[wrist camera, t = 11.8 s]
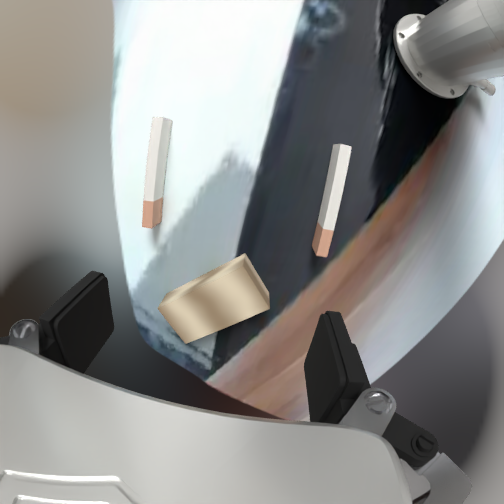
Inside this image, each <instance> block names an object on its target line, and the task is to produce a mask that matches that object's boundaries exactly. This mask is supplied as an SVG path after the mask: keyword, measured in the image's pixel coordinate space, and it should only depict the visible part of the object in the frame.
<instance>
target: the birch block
mask: <svg viewBox="0 0 504 504" xmlns="http://www.w3.org/2000/svg"><path fill="white" fill-rule="evenodd" d="M268 309H270V304H269V292H268V290H267V289H266V287H265V285H264V284H263V282H262V280H261V279H260V277H259V276H258V274H257V272H256V271H255V269H254V267H253V266H252V264H251V262H250V261H249V259H248V257H247V256H246V254H243V255H241V256H239V257H237V258H235V259H233V260H231V261H229V262H227V263H225V264H223V265H221V266H219V267H217V268H216V269H214V270H212V271H210V272H208V273H206V274H204V275H202V276H200V277H198V278H196V279H194V280H192V281H190V282H188V283H186V284H184V285H182V286H181V287H179V288H177V289H175V290H173V291H171V292H169V293H167V294H166V295H165V297H164V299H163V300H162V302H161V304H160V305H159V307H158V310H159V311H160V312H161V314H162V315H163V316H164V318H165V319H166V320H167V321H168V323H169V324H170V325H171V326H172V328H173V329H174V330H175V331H176V333H177V334H178V335H179V336H180V337H181V339H182V340H183V341H184V342H185V343H186V344H187V343H189V342H192V341H194V340H197V339H199V338H202V337H204V336H207V335H209V334H212V333H214V332H217V331H219V330H221V329H224V328H226V327H229V326H231V325H233V324H236V323H238V322H240V321H243V320H245V319H247V318H250V317H252V316H254V315H256V314H259V313H261V312H263V311H265V310H268Z"/></svg>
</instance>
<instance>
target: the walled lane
mask: <svg viewBox="0 0 504 504" xmlns="http://www.w3.org/2000/svg"><path fill="white" fill-rule="evenodd" d="M171 126H172V120H170V119H167V118H164V117H153V119H152V126H151V132H150V140H149V147H148V156H147V165H146V175H145V187H144V201H143V220H142V227H146V228H153V227H155V226H156V225H157V224H159V223H160V222H161V217H162V204H163V192H164V182H165V172H166V163H167V155H168V147H169V140H170V133H171ZM351 148H352V147H351V146H347V145H343V144H334V145H333V149H332V154H331V159H330V165H329V170H328V175H327V180H326V185H325V190H324V194H323V199H322V204H321V208H320V213H319V217H318V222H317V226H316V230H315V235H314V239H313V243H312V248H313V250H314V252H315V254H316V255H317V256H323V257H327V255H328V251H329V247H330V243H331V239H332V235H333V231H334V227H335V223H336V219H337V215H338V211H339V206H340V202H341V197H342V193H343V188H344V183H345V179H346V174H347V169H348V164H349V158H350V153H351Z"/></svg>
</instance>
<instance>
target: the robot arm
mask: <svg viewBox="0 0 504 504" xmlns="http://www.w3.org/2000/svg"><path fill="white" fill-rule="evenodd" d="M393 40H394V46H395V49H396V52H397V55H398V57H399V59H400V61H401V63H402V64H403V66H404V68H405V69H406V71H407V72H408V73H409V75H410V76H411V77H412V78H413V79H414V80H415V81H416V82H417V83H418V84H419V85H420V86H421V87H422V88H424V89H425V90H426V91H428V92H430V93H431V94H433V95H435V96H438V97H441V98H446V99H447V98H455V97H459V96H461V95H462V94H463V93H464V92H465V91H466V90H467V88H468V86H469V85H473V86H474V87H480V88H481V89H482V90H483V91H484V92H486V93H487V94H488V95H490V96H492V95H494V93H495V86H494V85H493V84H492V83H490V82H489V81H488V80H486V79H490V78H495V77H502V76H504V0H449V1H448V2H446V3H445V4H443V5H442V6H440V7H439V8H437V9H436V10H434V11H433V12H431V13H430V14H428V15H427V16H424V15H421V14H409V15H407V16H404V17H403V18H402V19H400V20H399V21H398V23H397V24H396V25H395V28H394V33H393ZM39 319H40V324H39V325H38V324H37V323H36V322H35V321H34V320H30V319H24V320H21V321H18V322H17V323H15V324H14V325H13V326H12V328H11V330H10V335H9V336H6V337H1V338H0V504H462V503H463V502H464V501H465V499H466V498H467V497H468V495H469V494H470V491H471V487H472V484H471V481H470V479H469V478H468V476H466V474H465V473H463V472H462V471H461V469H459V468H458V467H457V466H456V465H455V464H454V463H453V462H452V461H451V460H450V459H449V458H448V457H447V456H446V455H445V454H444V453H442V454H441V455H440V454H439V453H438V442H437V440H436V438H435V437H434V436H433V435H432V434H431V433H429V432H428V431H426V430H424V429H423V428H421V427H419V426H417V425H416V424H414V423H412V422H411V421H409V420H407V419H406V418H404V417H402V416H400V415H399V414H397V413H396V412H395V410H396V402H395V399H394V397H393V396H392V395H391V394H390V393H388V392H387V391H385V390H383V389H380V388H371V387H370V384H369V381H368V378H367V375H366V372H365V369H364V366H363V364H362V361H361V358H360V355H359V353H358V350H357V347H356V345H355V344H352V343H351V340H350V337H349V334H348V332H347V329H346V326H345V324H344V321H343V318H342V316H341V313H340V312H333V311H326V313H325V314H321V316H320V318H319V321H318V324H317V327H316V330H315V333H314V336H313V339H312V342H311V345H310V348H309V351H308V353H307V356H306V359H305V363H304V371H305V379H306V387H307V395H308V404H309V413H310V422H306V421H290V420H278V419H268V418H258V417H250V416H242V415H235V414H228V413H221V412H216V411H210V410H205V409H200V408H195V407H190V406H186V405H181V404H177V403H173V402H169V401H165V400H161V399H157V398H153V397H150V396H146V395H143V394H139V393H136V392H133V391H129V390H126V389H123V388H120V387H117V386H114V385H112V384H109V383H106V382H103V381H100V380H97V379H95V378H92V377H90V376H87V375H84V372H85V371H86V369H87V368H88V367H89V365H90V363H91V362H92V361H93V359H94V358H95V356H96V355H97V353H98V352H99V351H100V349H101V348H102V346H103V345H104V344H105V342H106V341H107V339H108V338H109V337H110V335H111V334H112V332H113V330H114V323H113V317H112V310H111V303H110V297H109V288H108V280H107V278H106V277H105V276H104V274H103V273H100V272H95V271H91V272H90V273H89V274H87V275H86V276H85V277H84V278H83V279H81V280H80V281H79V282H78V283H77V284H76V285H74V286H73V287H72V288H71V289H70V290H69V291H68V292H67V293H65V294H64V295H63V296H62V297H61V298H60V299H59V300H57V301H56V302H55V303H54V304H53V305H52V306H51V307H50V308H49V309H48V310H46V311H45V312H44V314H42V315H41V316H40V317H39Z"/></svg>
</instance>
